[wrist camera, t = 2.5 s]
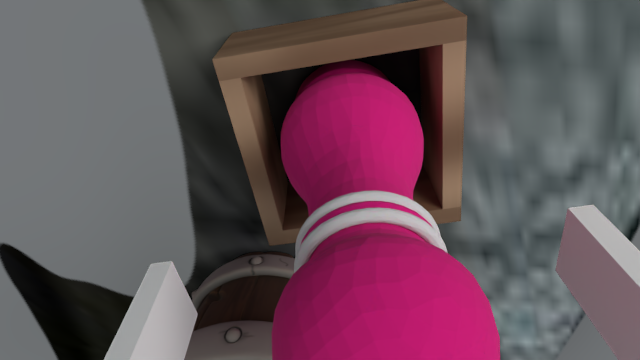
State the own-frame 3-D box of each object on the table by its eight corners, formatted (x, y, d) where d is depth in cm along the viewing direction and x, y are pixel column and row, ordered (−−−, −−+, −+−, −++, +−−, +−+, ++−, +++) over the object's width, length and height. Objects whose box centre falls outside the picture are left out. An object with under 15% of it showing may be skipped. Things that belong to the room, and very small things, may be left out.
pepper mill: (353, 21, 22) (487, 373, 5) (429, 114, 25) (676, 534, 8) (260, 106, 24) (134, 530, 7) (339, 181, 27) (376, 606, 10)
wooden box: (232, 33, 22) (212, 59, 18) (436, -3, 21) (466, 16, 17) (276, 196, 28) (269, 245, 24) (437, 174, 27) (460, 220, 23)
